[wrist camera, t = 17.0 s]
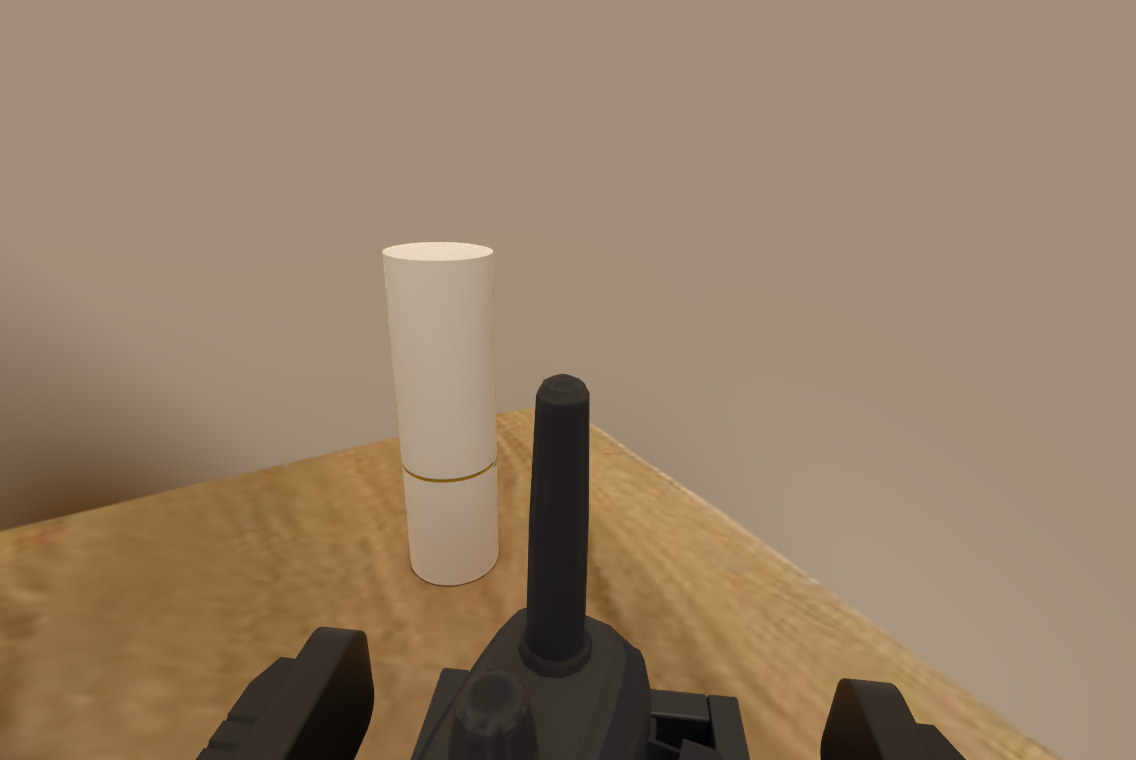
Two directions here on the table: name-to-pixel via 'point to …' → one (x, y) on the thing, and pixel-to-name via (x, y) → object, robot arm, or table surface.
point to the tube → (445, 404)
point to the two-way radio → (556, 633)
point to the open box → (673, 711)
